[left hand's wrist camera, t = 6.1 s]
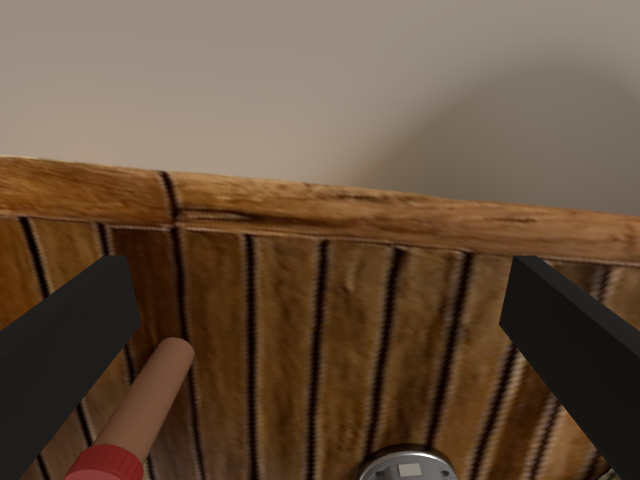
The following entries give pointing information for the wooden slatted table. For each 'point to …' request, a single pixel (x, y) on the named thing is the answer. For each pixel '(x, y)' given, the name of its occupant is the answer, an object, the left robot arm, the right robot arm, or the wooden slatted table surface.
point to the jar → (149, 399)
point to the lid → (105, 464)
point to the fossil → (610, 476)
